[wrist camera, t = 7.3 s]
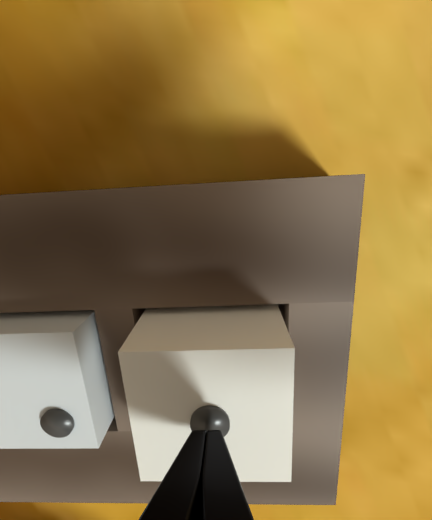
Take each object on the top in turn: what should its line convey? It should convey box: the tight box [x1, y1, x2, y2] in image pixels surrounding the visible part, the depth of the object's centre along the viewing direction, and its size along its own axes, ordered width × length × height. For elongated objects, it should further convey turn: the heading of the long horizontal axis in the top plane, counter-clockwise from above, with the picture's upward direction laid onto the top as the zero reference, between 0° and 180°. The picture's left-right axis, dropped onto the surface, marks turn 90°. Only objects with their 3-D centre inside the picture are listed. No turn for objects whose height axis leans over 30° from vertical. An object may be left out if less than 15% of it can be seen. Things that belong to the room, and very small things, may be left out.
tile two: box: [0, 310, 115, 449], centre depth 11 cm, size 5×5×3 cm
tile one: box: [118, 304, 295, 482], centre depth 10 cm, size 5×5×3 cm
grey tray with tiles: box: [0, 174, 365, 505], centre depth 12 cm, size 14×24×3 cm, turn 93°
